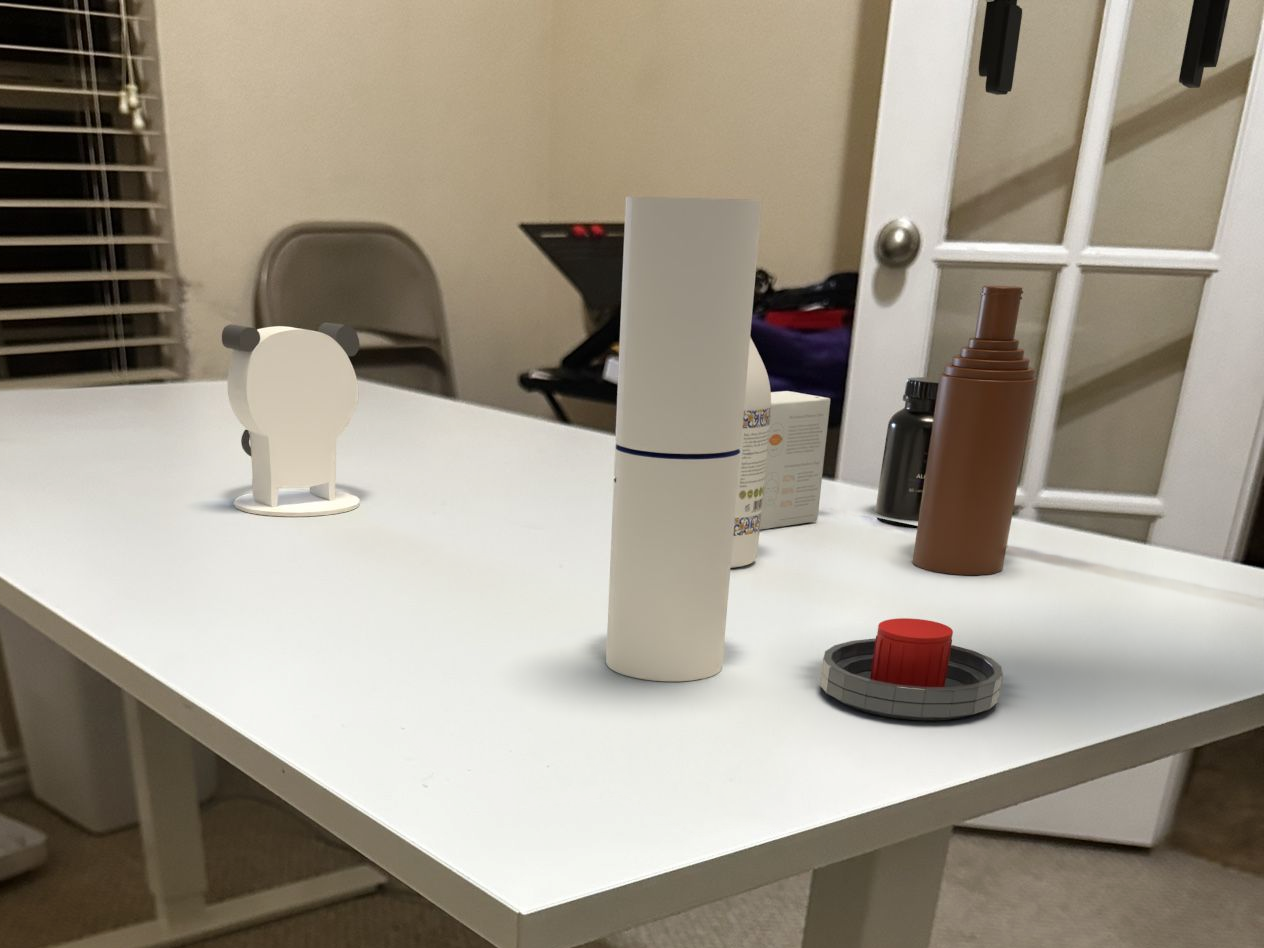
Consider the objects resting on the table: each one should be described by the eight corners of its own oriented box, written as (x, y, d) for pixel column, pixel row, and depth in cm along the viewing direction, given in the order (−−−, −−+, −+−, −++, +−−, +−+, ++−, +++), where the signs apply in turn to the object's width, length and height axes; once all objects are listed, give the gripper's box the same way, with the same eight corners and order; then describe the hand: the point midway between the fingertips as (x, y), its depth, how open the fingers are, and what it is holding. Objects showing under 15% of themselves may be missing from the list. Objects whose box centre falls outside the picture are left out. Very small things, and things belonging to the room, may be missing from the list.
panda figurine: (327, 488, 133) (318, 318, 126) (389, 507, 125) (383, 327, 118) (213, 500, 127) (196, 321, 119) (271, 521, 119) (257, 331, 112)
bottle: (1020, 567, 109) (1072, 288, 99) (968, 579, 105) (1017, 290, 95) (946, 551, 114) (989, 283, 104) (894, 562, 110) (933, 284, 100)
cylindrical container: (636, 686, 80) (663, 197, 68) (587, 652, 86) (603, 196, 74) (743, 674, 82) (787, 200, 70) (688, 643, 88) (721, 199, 76)
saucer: (1031, 701, 79) (1037, 668, 78) (925, 737, 73) (931, 701, 72) (890, 660, 86) (895, 629, 85) (784, 690, 80) (787, 656, 79)
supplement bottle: (923, 533, 120) (945, 386, 114) (859, 521, 124) (877, 378, 118) (966, 524, 124) (990, 381, 118) (902, 512, 128) (922, 373, 122)
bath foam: (757, 552, 112) (782, 279, 102) (756, 572, 106) (782, 284, 96) (672, 548, 113) (689, 277, 103) (666, 567, 107) (683, 281, 97)
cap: (873, 677, 81) (881, 615, 79) (945, 685, 80) (955, 622, 78) (865, 697, 78) (874, 633, 76) (940, 706, 77) (951, 641, 75)
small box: (776, 512, 127) (788, 389, 122) (818, 522, 123) (833, 397, 118) (710, 520, 123) (719, 394, 118) (752, 531, 119) (763, 402, 114)
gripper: (954, -338, 64) (908, 91, 73) (1369, -409, 57) (1265, 78, 65) (992, -294, 70) (945, 99, 78) (1373, -354, 63) (1277, 88, 71)
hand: (1090, 89), depth 72 cm, fingers open, 9 cm apart
